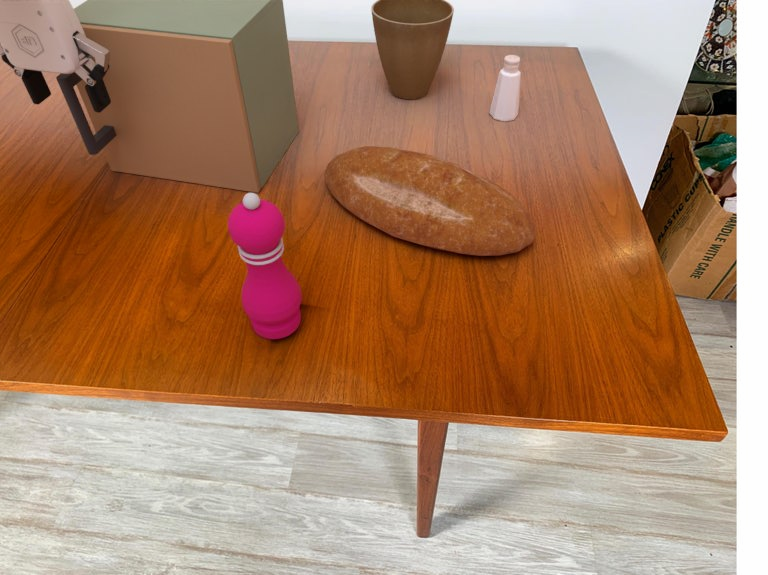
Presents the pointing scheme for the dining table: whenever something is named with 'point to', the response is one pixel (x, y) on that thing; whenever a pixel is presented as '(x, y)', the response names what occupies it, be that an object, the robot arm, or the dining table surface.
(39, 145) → the dining table surface
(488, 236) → the bread
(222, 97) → the cupboard door
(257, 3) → the cupboard
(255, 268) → the pepper mill
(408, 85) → the plant pot
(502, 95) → the salt shaker
